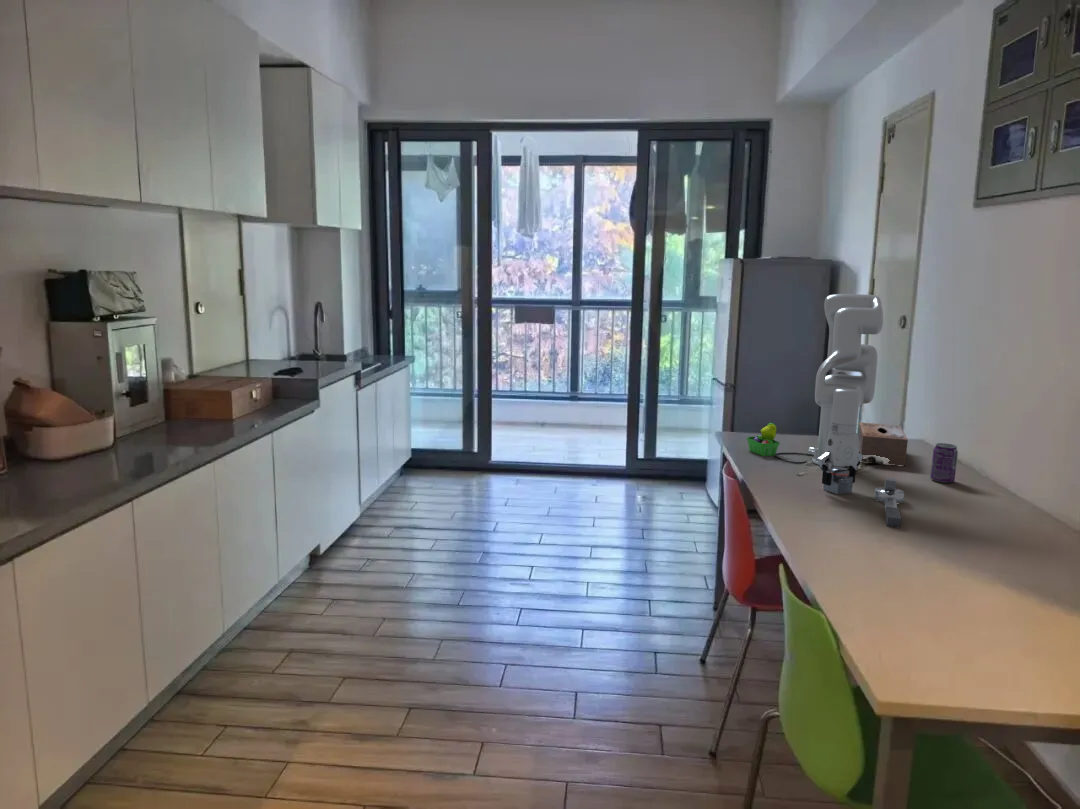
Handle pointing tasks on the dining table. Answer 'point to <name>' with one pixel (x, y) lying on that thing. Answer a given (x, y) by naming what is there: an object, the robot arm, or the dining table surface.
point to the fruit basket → (764, 441)
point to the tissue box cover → (883, 442)
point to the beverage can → (944, 463)
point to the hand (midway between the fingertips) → (838, 483)
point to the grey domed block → (840, 481)
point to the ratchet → (890, 501)
